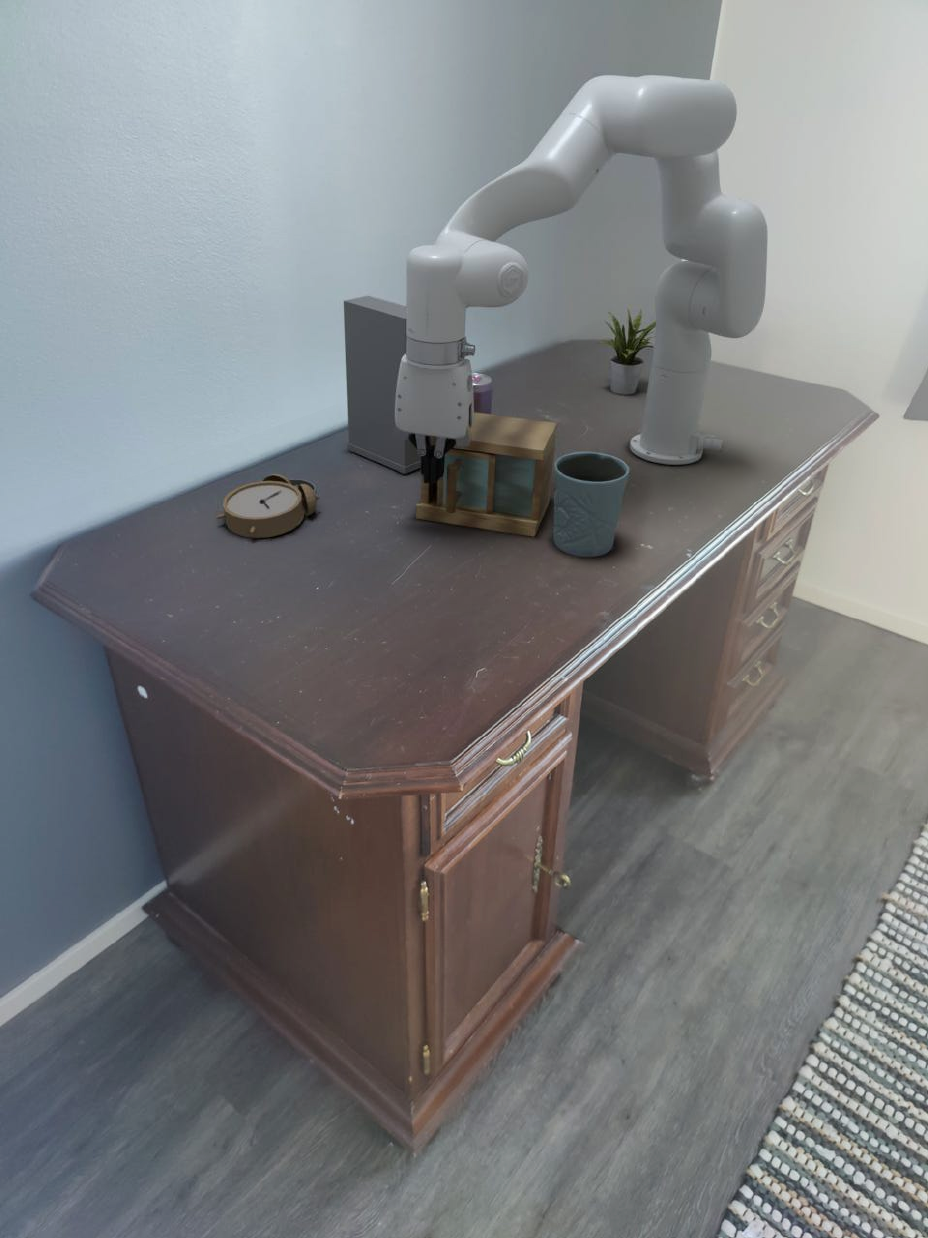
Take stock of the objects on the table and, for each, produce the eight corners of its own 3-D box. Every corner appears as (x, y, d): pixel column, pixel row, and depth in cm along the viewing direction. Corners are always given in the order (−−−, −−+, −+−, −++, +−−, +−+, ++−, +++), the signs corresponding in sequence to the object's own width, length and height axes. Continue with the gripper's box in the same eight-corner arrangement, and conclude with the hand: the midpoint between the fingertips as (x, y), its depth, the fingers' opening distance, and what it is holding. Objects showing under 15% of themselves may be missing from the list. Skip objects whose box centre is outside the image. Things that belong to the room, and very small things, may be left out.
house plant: (666, 405, 177) (680, 322, 168) (596, 403, 177) (606, 319, 168) (654, 382, 189) (666, 302, 180) (589, 379, 189) (598, 300, 180)
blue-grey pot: (619, 531, 132) (631, 455, 125) (615, 565, 123) (627, 485, 117) (551, 523, 133) (559, 447, 127) (542, 555, 125) (550, 476, 118)
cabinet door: (492, 513, 131) (496, 453, 126) (484, 529, 127) (487, 468, 122) (437, 505, 133) (439, 445, 128) (427, 520, 128) (428, 459, 123)
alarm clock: (204, 504, 128) (279, 456, 136) (213, 532, 131) (286, 483, 139) (258, 528, 122) (333, 476, 131) (266, 557, 125) (338, 504, 134)
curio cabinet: (549, 502, 139) (557, 422, 132) (534, 536, 129) (542, 452, 122) (438, 486, 143) (439, 407, 135) (416, 518, 133) (416, 435, 126)
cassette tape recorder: (430, 465, 149) (433, 311, 136) (404, 475, 145) (405, 319, 132) (374, 441, 157) (371, 294, 143) (347, 450, 153) (342, 300, 139)
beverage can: (493, 464, 151) (498, 376, 142) (479, 477, 146) (483, 387, 138) (461, 457, 153) (464, 370, 144) (446, 469, 148) (449, 380, 140)
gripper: (498, 348, 117) (490, 477, 127) (389, 335, 120) (390, 462, 130) (484, 364, 111) (477, 499, 121) (370, 350, 114) (372, 483, 124)
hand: (432, 479), depth 125 cm, fingers closed
